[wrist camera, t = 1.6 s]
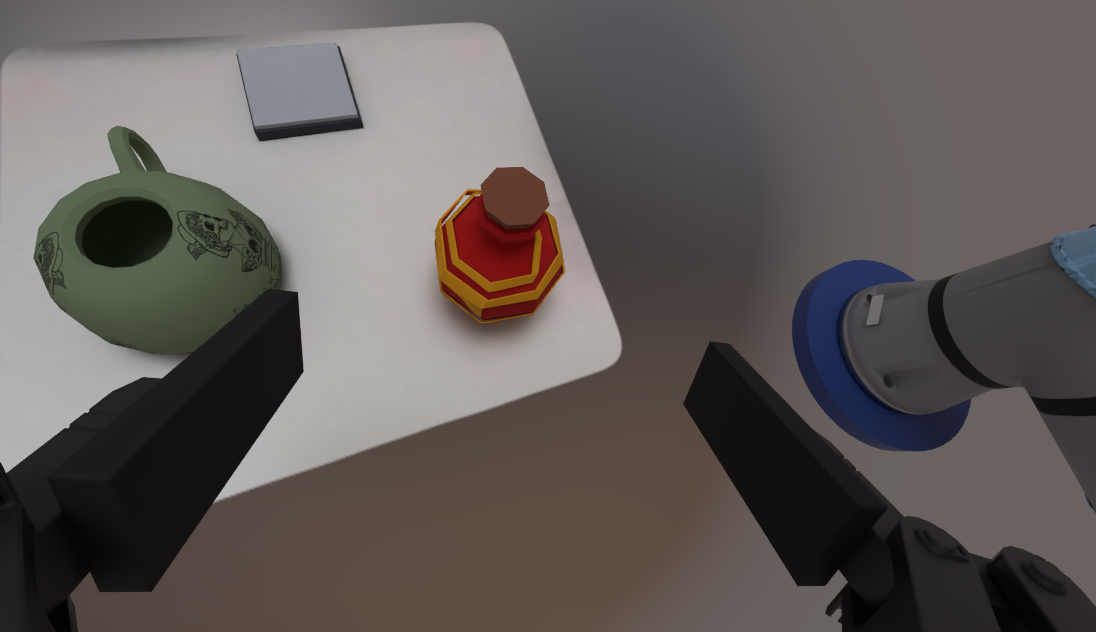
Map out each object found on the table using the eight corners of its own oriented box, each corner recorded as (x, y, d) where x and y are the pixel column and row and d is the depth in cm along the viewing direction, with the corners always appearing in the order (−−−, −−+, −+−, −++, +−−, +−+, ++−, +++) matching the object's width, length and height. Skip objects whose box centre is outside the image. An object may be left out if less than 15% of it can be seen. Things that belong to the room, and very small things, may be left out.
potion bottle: (566, 306, 39) (630, 228, 26) (472, 362, 36) (485, 308, 22) (507, 218, 41) (537, 99, 27) (411, 264, 37) (387, 155, 23)
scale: (341, 55, 42) (337, 40, 41) (363, 127, 40) (360, 115, 39) (241, 63, 40) (233, 47, 38) (259, 141, 38) (251, 128, 36)
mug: (308, 331, 34) (263, 294, 26) (113, 385, 30) (-12, 362, 22) (265, 167, 37) (213, 89, 29) (84, 196, 33) (-34, 115, 25)
